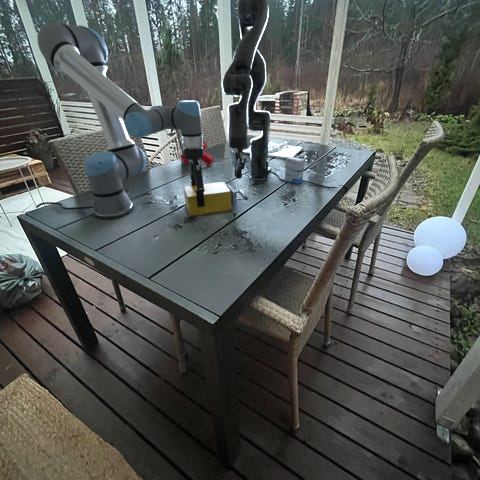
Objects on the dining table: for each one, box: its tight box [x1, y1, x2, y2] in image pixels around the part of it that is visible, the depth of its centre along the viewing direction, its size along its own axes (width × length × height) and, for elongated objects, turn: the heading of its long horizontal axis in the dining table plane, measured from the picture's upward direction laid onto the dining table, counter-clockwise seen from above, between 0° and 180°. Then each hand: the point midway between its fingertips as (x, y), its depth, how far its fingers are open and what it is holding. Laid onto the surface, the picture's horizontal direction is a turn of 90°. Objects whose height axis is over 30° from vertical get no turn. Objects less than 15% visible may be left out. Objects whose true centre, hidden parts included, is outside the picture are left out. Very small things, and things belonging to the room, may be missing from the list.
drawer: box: [226, 183, 249, 209], centre depth 116 cm, size 22×10×7 cm, turn 108°
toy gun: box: [180, 139, 215, 167], centre depth 167 cm, size 18×4×15 cm
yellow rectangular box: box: [183, 181, 232, 218], centre depth 114 cm, size 17×11×9 cm, turn 108°
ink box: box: [284, 156, 306, 185], centre depth 140 cm, size 8×5×12 cm, turn 47°
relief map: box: [243, 138, 304, 160], centre depth 192 cm, size 27×35×5 cm
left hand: (198, 200), depth 113 cm, fingers closed on yellow rectangular box, 11 cm apart
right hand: (238, 177), depth 114 cm, fingers closed
